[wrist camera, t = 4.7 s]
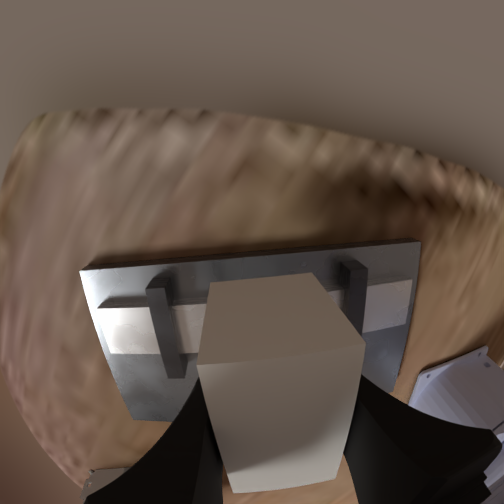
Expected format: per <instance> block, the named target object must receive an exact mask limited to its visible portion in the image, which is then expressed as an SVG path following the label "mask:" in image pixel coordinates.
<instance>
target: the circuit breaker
mask: <svg viewBox="0 0 504 504" xmlns="http://www.w3.org/2000/svg"><path fill="white" fill-rule="evenodd" d="M129 468H131V467H127V468H116V469H101V470H95V472H93V471H92V470H89V473H90V474H91V475H90V478H89V479H86V481H85V484H84V487H83V490H82V493H81V496H80V498H81V499H83V500H84V501H83V504H84V502H85V500H86V497H87V496H88V495H90V494H92V493H94V492H96V491H97V490H99V489H101V488H102V487H104V486H106V485H107V484H109V483H111V482H112V481H114V480H115V479H116V478H118V477H119V476H120V475H122V474H123V473H124V472H126V471H127V470H128V469H129ZM89 483H91V486H90V487H88V484H89Z"/></svg>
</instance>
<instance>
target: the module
mask: <svg viewBox="0 0 504 504" xmlns="http://www.w3.org/2000/svg"><path fill="white" fill-rule="evenodd" d="M365 346H366V342H365V341H364V340H363V338H362V337H361V336H360V334H359V333H358V332H357V330H356V329H355V328H354V326H353V325H352V324H351V322H350V321H349V320H348V319H347V317H346V316H345V315H344V313H343V312H342V311H341V309H340V308H339V307H338V305H337V304H336V303H335V302H334V300H333V299H332V298H331V296H330V295H329V294H328V293H327V291H326V290H325V289H324V287H323V286H322V285H321V284H320V282H319V281H318V280H317V278H316V277H315V276H314V275H313V273H312V272H311V273H302V274H293V275H283V276H273V277H264V278H253V279H243V280H232V281H221V282H210V288H209V293H208V299H207V304H206V310H205V316H204V322H203V327H202V333H201V339H200V346H199V352H198V358H197V364H196V365H197V370H198V374H199V378H200V382H201V386H202V390H203V394H204V398H205V402H206V406H207V409H208V413H209V417H210V420H211V424H212V427H213V431H214V434H215V438H216V441H217V444H218V448H219V451H220V454H221V457H222V461H223V464H224V467H225V470H226V473H227V476H228V479H229V482H230V485H231V488H232V491H233V493H246V492H258V491H268V490H277V489H284V488H291V487H297V486H303V485H308V484H313V483H318V482H323V481H327V480H332V479H335V478H336V475H337V471H338V468H339V465H340V462H341V458H342V455H343V451H344V448H345V444H346V440H347V436H348V432H349V428H350V424H351V420H352V416H353V412H354V407H355V402H356V398H357V393H358V388H359V382H360V377H361V371H362V365H363V359H364V353H365Z"/></svg>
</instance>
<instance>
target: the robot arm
mask: <svg viewBox="0 0 504 504" xmlns="http://www.w3.org/2000/svg"><path fill="white" fill-rule="evenodd" d="M487 352H488V347H487V346H483V347H481V348H479V349H477V350H475V351H472V352H470V353H468V354H465V355H463V356H461V357H458V358H456V359H453V360H451V361H448V362H446V363H443V364H441V365H438V366H435V367H433V368H430V369H427V370H424V371H422V372H421V373H420V374H419V376H418V378H417V381H416V384H415V387H414V390H413V393H412V395H411V398H410V401H409V403H408V405H407V404H405V403H403V402H401V401H399V400H398V399H396V398H395V397H393V396H391V395H390V394H388V393H387V392H385V391H384V390H382V389H381V388H379V387H378V386H376V385H375V384H374V383H372V382H371V381H370V380H368V379H367V378H366V377H365V376H363V375H362V374H361V377H360V382H359V388H358V393H357V398H356V402H355V407H354V412H353V416H352V420H351V424H350V428H349V432H348V436H347V440H346V444H345V448H344V451H343V454H344V456H345V458H346V461H347V463H348V466H349V469H350V473H351V476H352V480H353V483H354V487H355V491H356V495H357V499H358V503H359V504H504V370H503V369H501V368H500V367H499V366H498V365H497V364H496V363H495V362H494V361H493V360H491V359H490V358H489V357H488V356H487V355H486V354H487ZM222 471H223V461H222V457H221V454H220V451H219V448H218V444H217V441H216V438H215V434H214V431H213V427H212V424H211V420H210V417H209V413H208V409H207V406H206V402H205V398H204V394H203V390H202V386H201V382H200V378H199V377H198V379H197V381H196V383H195V385H194V387H193V389H192V391H191V393H190V395H189V397H188V399H187V400H186V402H185V404H184V405H183V407H182V409H181V410H180V412H179V413H178V415H177V416H176V418H175V419H174V421H173V422H172V424H171V425H170V426H169V428H168V429H167V430H166V432H165V433H164V434H163V435H162V437H161V438H160V439H159V440H158V441H157V443H156V444H155V445H154V446H153V447H152V448H151V449H150V450H149V451H148V452H147V453H146V454H145V455H144V456H143V457H142V458H141V459H140V460H139V461H138V462H137V463H136V464H134V465H133V466H132V467H131V468H129V469H128V470H127V471H126V472H124V473H123V474H122V475H120V476H119V477H118V478H116V479H115V480H114V481H112V482H111V483H109V484H107V485H106V486H104V487H102V488H101V489H99V490H97V491H96V492H94V493H92V494H90V495H88V496H87V497H86V500H85V502H84V504H223V495H222Z"/></svg>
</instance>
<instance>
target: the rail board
mask: <svg viewBox="0 0 504 504" xmlns="http://www.w3.org/2000/svg"><path fill="white" fill-rule="evenodd" d="M420 249H421V241H418V240H416V239H414V238H404V239H393V240H381V241H369V242H357V243H345V244H333V245H322V246H310V247H298V248H286V249H275V250H263V251H251V252H239V253H228V254H216V255H204V256H193V257H181V258H169V259H158V260H146V261H134V262H123V263H111V264H99V265H88V266H86V267H84V268H83V269H82V270H80V275H81V279H82V283H83V287H84V291H85V295H86V298H87V302H88V305H89V309H90V312H91V315H92V319H93V322H94V325H95V328H96V331H97V334H98V337H99V340H100V343H101V346H102V348H103V351H104V354H105V356H106V359H107V362H108V364H109V367H110V369H111V372H112V374H113V377H114V379H115V381H116V384H117V386H118V388H119V391H120V393H121V395H122V397H123V399H124V402H125V404H126V406H127V408H128V410H129V412H130V414H131V416H132V418H133V419H134V420H147V421H168V422H173V421H174V419H175V418H176V416H177V415H178V413H179V412H180V410H181V409H182V407H183V405H184V404H185V402H186V400H187V399H188V397H189V395H190V393H191V391H192V389H193V387H194V385H195V383H196V381H197V379H198V377H199V374H198V370H197V365H196V364H197V358H198V352H199V346H200V339H201V333H202V327H203V322H204V316H205V310H206V304H207V299H208V293H209V288H210V282H221V281H232V280H243V279H253V278H264V277H273V276H283V275H293V274H302V273H311V272H312V273H313V275H314V276H315V277H316V278H317V280H318V281H319V282H320V284H321V285H322V286H323V287H324V289H325V290H326V291H327V293H328V294H329V295H330V296H331V298H332V299H333V300H334V302H335V303H336V304H337V305H338V307H339V308H340V309H341V311H342V312H343V313H344V315H345V316H346V317H347V319H348V320H349V321H350V322H351V324H352V325H353V326H354V328H355V329H356V330H357V332H358V333H359V334H360V336H361V337H362V338H363V340H364V341H365V342H366V346H365V353H364V359H363V365H362V371H361V374H362V375H363V376H365V377H366V378H367V379H368V380H370V381H371V382H372V383H374V384H375V385H376V386H378V387H379V388H381V389H382V390H384V391H385V392H387V393H389V392H393V389H394V385H395V382H396V379H397V375H398V371H399V368H400V364H401V360H402V356H403V352H404V348H405V344H406V339H407V335H408V330H409V325H410V320H411V315H412V309H413V303H414V297H415V291H416V284H417V276H418V268H419V259H420Z"/></svg>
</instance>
